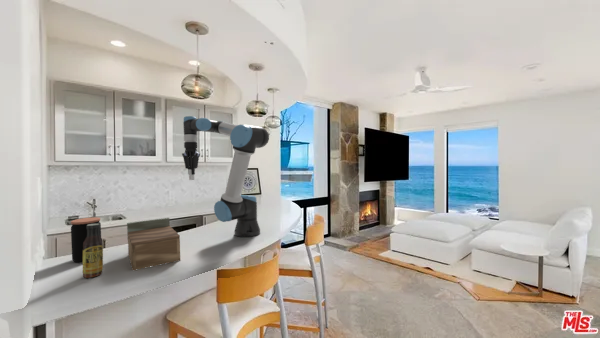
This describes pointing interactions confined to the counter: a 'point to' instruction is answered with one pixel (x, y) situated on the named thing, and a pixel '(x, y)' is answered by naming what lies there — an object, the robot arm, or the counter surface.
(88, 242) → the sauce bottle
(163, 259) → the chest
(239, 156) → the robot arm
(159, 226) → the lid
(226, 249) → the counter surface
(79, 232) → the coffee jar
